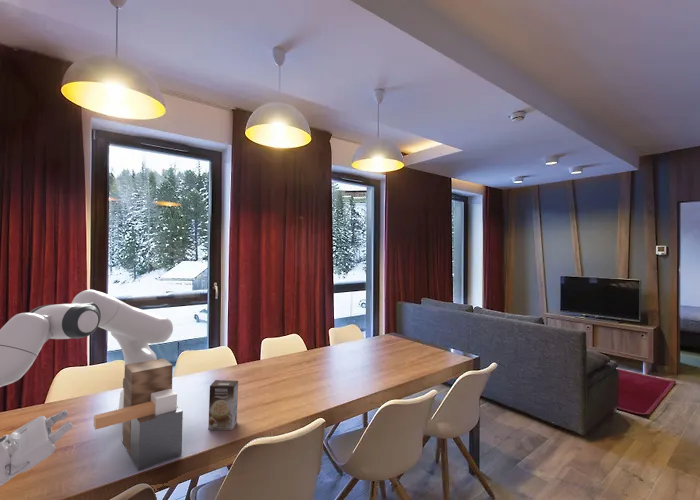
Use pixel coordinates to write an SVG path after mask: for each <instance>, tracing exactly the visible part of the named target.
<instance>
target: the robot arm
mask: <svg viewBox="0 0 700 500" xmlns="http://www.w3.org/2000/svg"><path fill="white" fill-rule="evenodd" d="M97 328H100V329H103V330H105V331H107V332H109V333H111V336H112V337H113V338H114V339H115V340H116V341H117V342H118V344H119V346H120V348H121V351H122V354H123V359H124V366H125V365H127V364H133V363H139V362H145V361H150V360H156V359H158V358H157V354H156V353H155V352H154V351H153V350H152V349H151V348H150V346H149V344H151V345H153V344H160V343H165V342H167V341H168V340H169V339H170V337H171V336H172V334H173V331H174V324H173V322H172V321H171V319H169V318H166V317H164V316H161V315H158V314H154V313H153V312H150V311H147V310H144V309H142V308H138V307H135V306H132V305H130V304H127V303H126V302H125V301H122V300H120V299H118V298H116V297H114V296H112V295H110V294H108V293H105V292H102V291H100V290H99V291H98V290H95V289H86V290H83V291H81V292H79V293H77V294H76V295H75V296H74V298H73V299H72V301H71V303H59V304H58V303H57V304H43V305H40V306H37V307H35V308H33V309H32V310H30V311H29V312H21V313H16V314H15V315H14V316H12V317H11V318H10V319H9V320H8V321H7V322H5V324H4V325H3V326H2V327H1V328H0V388H1V387H5V386H8V385H10V384H13V383H15V382H17V381H19V380H20V379H21V378H22V377H23V376H25V374H26V373H27V372H28V371H29V370H30V368H31V367H32V366H33V364H34V362H35V360H36V359H37V357H38V356H39V353H40V352H41V350H42V348H43V346H44V344H45V343H46V342H47V341H49V340H51V339H52V340H69V339H74V340H77V339H82V338H85V337H86V338H87V337H89V336H91V335H92V334H93V333H94V332H95V331H96V330H97ZM118 401H119V402H118V407H117V408H115V410H118V409H122V408H123V406H124V378H123V379H122V390H121V391H120V395H119V400H118ZM69 415H70V413H69V411H67V409H63V410H61V411H60V412H58V413H56V414H54V415H51V416H49V417H48V418H47V417H46V416H45V415H40V416H37V417H35V418H34V419H32V420H30V421H28V422H27V423H25V424H24V425H22V426H20V427H18V428H17V429H15V430H13V431H12V432H11V433H10V434H3V436H2V437H0V487H1V486H3V485H4V484H6V483H7V482H8V481H10V480H12V479H13V478H14V477H15V476H17V475H18V474H23V473H25V472H27V471H29V470H30V469H32V468H34V467H35V466H36V465H38V464H39V463H42V462H43V461H44V460H46V459H47V458H49V457H50V456H51V455H52V454H54V453H55V451H56V446H55V445H56V444H55V443H57V442H58V441H59V440H61V438H62V437H63V436H64V435H65V434H66V433H68V432H69V431H70V430H72V429H73V424H72V422H71V421H69V420H68V421H66V422H65V423H63V424H61V427H59V428H58V429H57V430H56V431H54V432H53V429H52V426H54V425H56V423H58V422H59V421H62V420H65V419H66V418H67V417H69Z"/></svg>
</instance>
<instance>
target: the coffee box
mask: <svg viewBox="0 0 700 500" xmlns="http://www.w3.org/2000/svg"><path fill="white" fill-rule="evenodd" d="M238 394H239V380H233V379H232V380H225V379H215V380H213V382H211V384H210V385H209V396H208V397H209V401H208V404H209V405H208V426H207V430H213V431H215V430H217V431H221V430H223V431H225V430H226V431H232V430H233V429H234V428H235V426H236V424H237V423H238V401H239V400H238V398H239V397H238V396H239V395H238Z"/></svg>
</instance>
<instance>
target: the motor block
mask: <svg viewBox="0 0 700 500" xmlns="http://www.w3.org/2000/svg"><path fill="white" fill-rule="evenodd" d="M183 411H184V410H182V408H180V406H179V405H177V410H174V411H170V412H166V413H163V414H159V415H155V414H152V415H148V416H144V417H141V418H137V419H133V420H131V439H130V455H129V457H130V459H131V461H132V462H133V464H134V466H135V468H136V470H137V472H140V471H142V470H145V469H147V468H148V469H149V468H151V467H153V466H156V465H159V464H162V463H164V462H167V461H170V460H172V459H176V458H179V457H181V456H182V452H183V451H182V450H183V447H182V446H183V419H184V417H183V415H184V413H183Z"/></svg>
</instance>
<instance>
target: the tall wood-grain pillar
mask: <svg viewBox="0 0 700 500" xmlns="http://www.w3.org/2000/svg"><path fill="white" fill-rule="evenodd" d="M173 368H174V366H173V364H172V363H171V362H169V361H168V360H166V359H165V358H164V357H162V358H157V359H156V360H150V361H145V362H139V363H133V364H127V365H125V364H124V377H123V379H124V406H123V408H126V407H130V406H134V405H138V404H142V403H146V402H150V401H151V393H155V392H159V391H163V390H168V389H172V390H173ZM121 437H122V439H121V441H122V444H123V446H124V447H125V449H126V451H127V453H128V455H129V456H130V439H131V420H130V421H126V422H122V436H121Z"/></svg>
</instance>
